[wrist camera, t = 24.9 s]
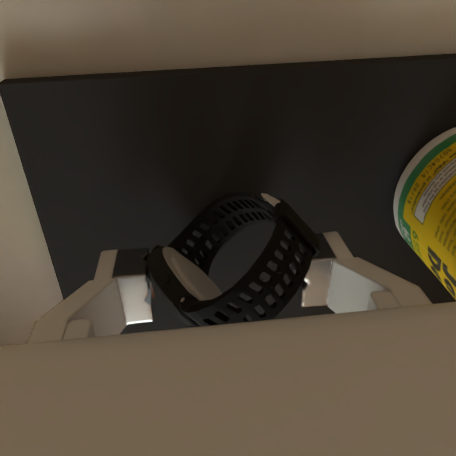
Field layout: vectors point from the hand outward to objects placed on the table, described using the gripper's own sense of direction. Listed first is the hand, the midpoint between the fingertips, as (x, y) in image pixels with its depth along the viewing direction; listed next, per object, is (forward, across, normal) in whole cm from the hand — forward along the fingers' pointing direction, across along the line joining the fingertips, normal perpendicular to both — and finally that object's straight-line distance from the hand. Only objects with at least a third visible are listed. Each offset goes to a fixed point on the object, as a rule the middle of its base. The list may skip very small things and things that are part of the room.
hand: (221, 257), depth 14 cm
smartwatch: (+2, 0, 0) cm, 2 cm away
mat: (+2, -4, 0) cm, 4 cm away
